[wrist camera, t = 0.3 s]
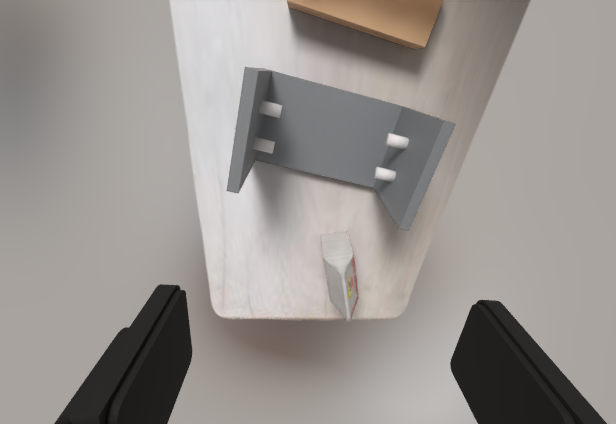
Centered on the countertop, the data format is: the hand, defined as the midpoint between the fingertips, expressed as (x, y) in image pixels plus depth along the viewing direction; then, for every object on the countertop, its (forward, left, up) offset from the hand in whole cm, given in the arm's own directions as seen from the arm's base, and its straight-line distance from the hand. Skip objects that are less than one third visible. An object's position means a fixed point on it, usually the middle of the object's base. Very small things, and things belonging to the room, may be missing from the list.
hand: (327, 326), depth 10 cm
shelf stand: (-1, +2, -29) cm, 29 cm away
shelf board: (-16, +2, -30) cm, 34 cm away
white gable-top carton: (+14, +8, -30) cm, 34 cm away
